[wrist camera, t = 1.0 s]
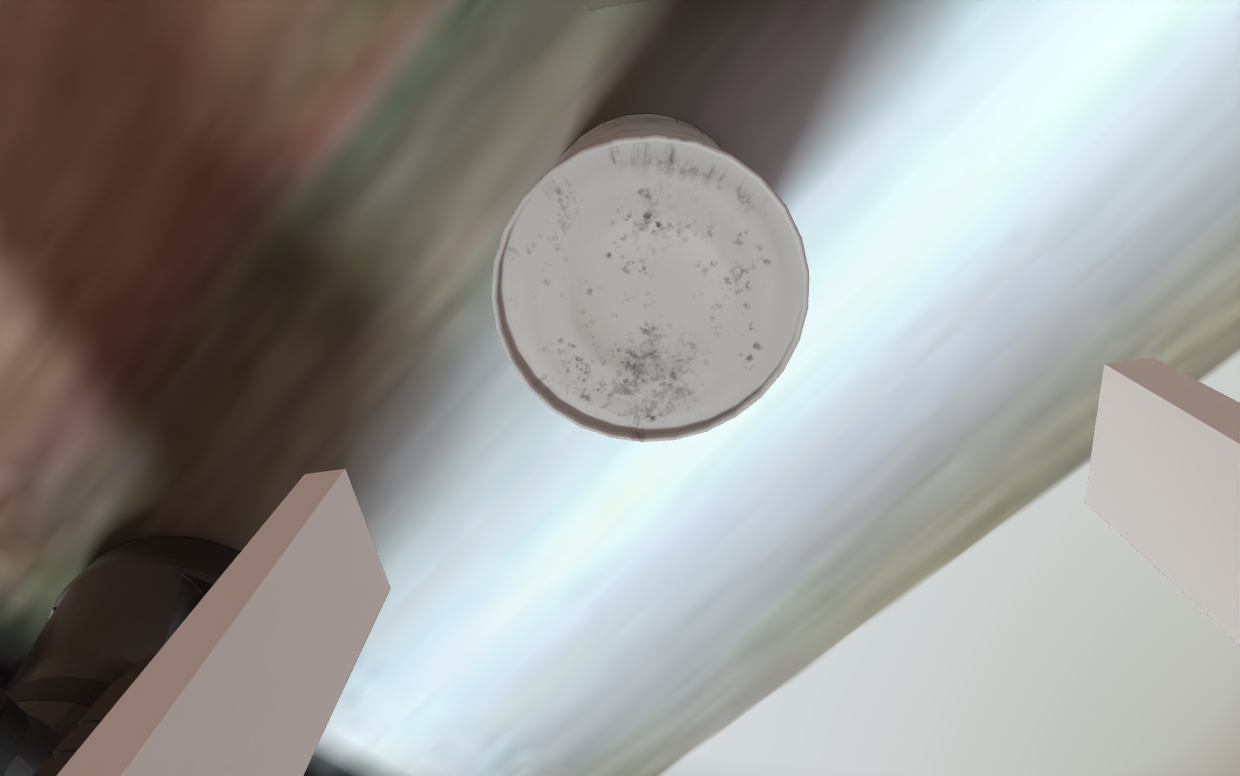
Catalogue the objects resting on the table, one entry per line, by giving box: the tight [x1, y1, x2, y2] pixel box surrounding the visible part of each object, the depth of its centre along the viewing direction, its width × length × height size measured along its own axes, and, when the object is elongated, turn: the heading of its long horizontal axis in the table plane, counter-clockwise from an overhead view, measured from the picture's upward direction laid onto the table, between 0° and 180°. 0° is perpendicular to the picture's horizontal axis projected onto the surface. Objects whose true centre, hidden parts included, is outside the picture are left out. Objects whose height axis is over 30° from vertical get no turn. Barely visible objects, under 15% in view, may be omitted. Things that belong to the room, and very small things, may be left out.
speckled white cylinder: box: [491, 114, 809, 442], centre depth 26 cm, size 10×10×12 cm
